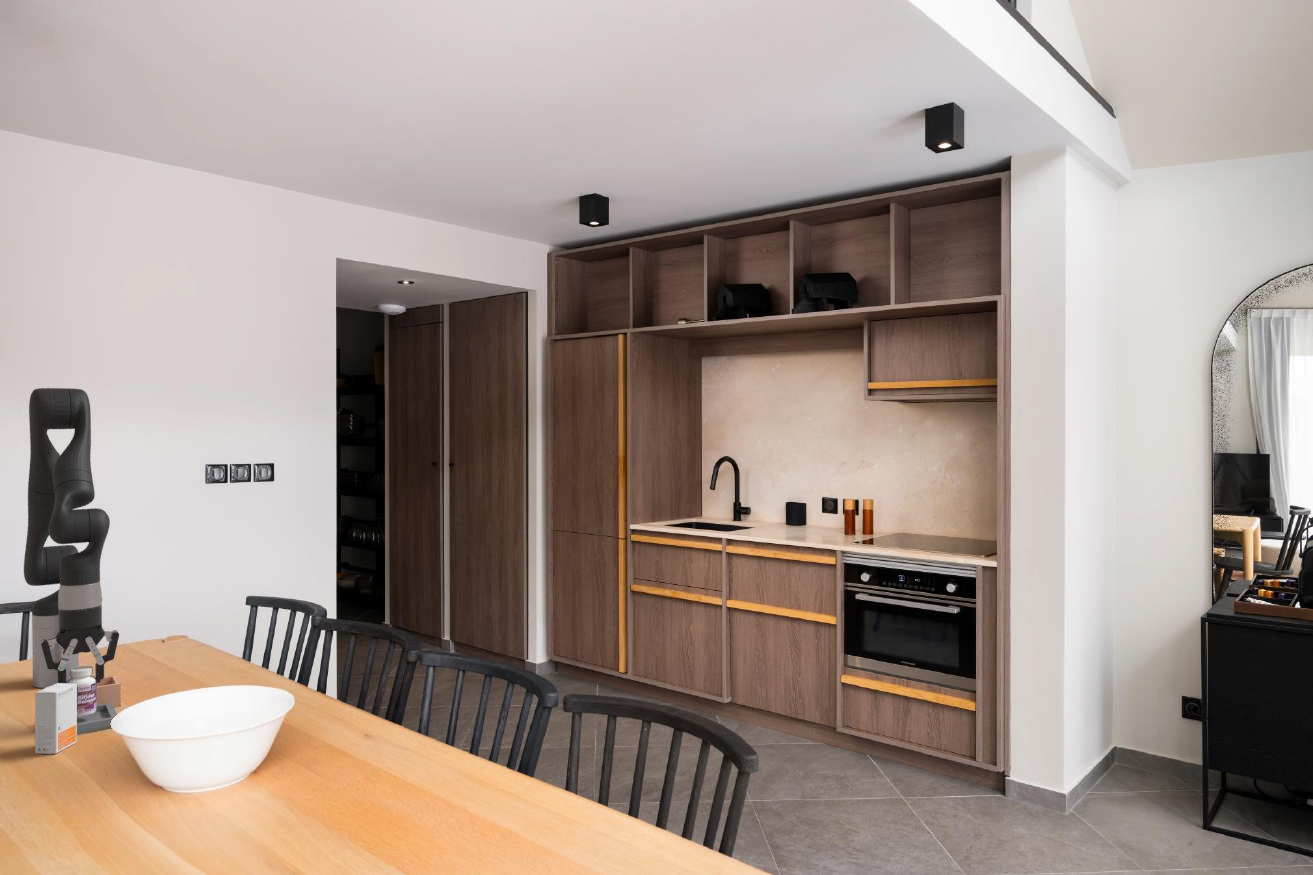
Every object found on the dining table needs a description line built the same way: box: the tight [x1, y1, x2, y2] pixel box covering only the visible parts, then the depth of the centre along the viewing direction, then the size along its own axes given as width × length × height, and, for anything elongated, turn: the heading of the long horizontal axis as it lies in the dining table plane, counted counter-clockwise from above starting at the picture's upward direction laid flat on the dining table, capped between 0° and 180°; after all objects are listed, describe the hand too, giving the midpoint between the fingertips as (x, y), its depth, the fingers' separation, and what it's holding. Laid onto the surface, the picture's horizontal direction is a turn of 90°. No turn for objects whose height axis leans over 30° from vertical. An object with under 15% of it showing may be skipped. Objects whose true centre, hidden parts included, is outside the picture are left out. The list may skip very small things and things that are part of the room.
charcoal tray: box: [77, 702, 118, 736], centre depth 180 cm, size 12×12×2 cm
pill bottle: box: [66, 665, 96, 718], centre depth 179 cm, size 5×5×10 cm
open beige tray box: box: [96, 674, 122, 708], centre depth 192 cm, size 8×8×5 cm
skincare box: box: [34, 683, 78, 755], centre depth 167 cm, size 6×4×12 cm
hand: (81, 684), depth 179 cm, fingers closed on pill bottle, 5 cm apart
